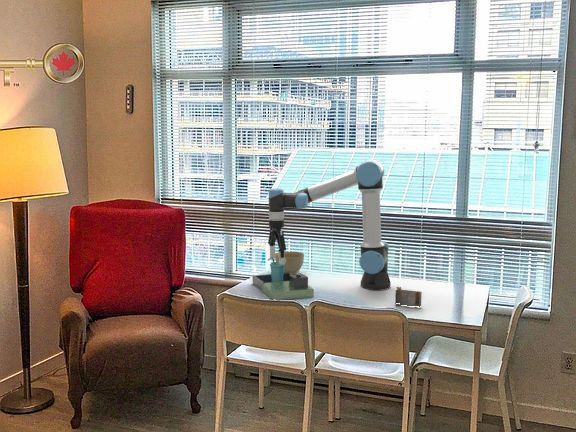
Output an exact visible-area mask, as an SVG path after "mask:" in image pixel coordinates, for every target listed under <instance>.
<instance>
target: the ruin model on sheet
mask: <svg viewBox="0 0 576 432" xmlns="http://www.w3.org/2000/svg"><path fill="white" fill-rule="evenodd" d="M394 295H395V297H394V298H395V300H394V302H395V303H394V305H395V304H396V303H400V305H407V306H419V307H420V306H421V307H422V299H423V298H422V295H423V293H422V291H418V290H409V289H402V286H396V289H395V294H394ZM400 305H399V306H400Z"/></svg>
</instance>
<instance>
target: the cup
mask: <svg viewBox="0 0 576 432" xmlns="http://www.w3.org/2000/svg"><path fill="white" fill-rule="evenodd" d="M284 259H285V264H286V261H287V260H286V257H284ZM267 261H272V262H270V264H269V267H270V274H271V277H272V282H283V273H284V266H285V264H279V260H278V262H276V261H275V259H274V258H273V257H271V258H270V257H269V258H268V259H267Z"/></svg>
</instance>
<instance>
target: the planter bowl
mask: <svg viewBox="0 0 576 432" xmlns="http://www.w3.org/2000/svg"><path fill="white" fill-rule="evenodd" d="M284 257H286V260H287V261H286V264H285V266H284V273H291V274H292V275H295V274H296V272H297V271H300V270H301V269H302V266H303V264H304V258H305V253H304V252H299V251H284ZM274 260H275V262H278V260H279V252H275V259H274Z"/></svg>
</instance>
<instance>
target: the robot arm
mask: <svg viewBox="0 0 576 432" xmlns="http://www.w3.org/2000/svg"><path fill="white" fill-rule="evenodd" d="M384 175H385V168H384V165H383V163H382V162H381V161H380V160H377V159H368V160H364V161H362V162H361V163H360V164H359V165H357V166H355V167H354V169H352V170H350V171H347V172H344V173H343V174H342V173H341V174H339V175H337V176H335V177H334V176H333V177H332V178H329V179H327V180H324V181H321V182H319V183H317V184H314V185H311V186H308V187H306V188H303V189H299V190H298V191H296V192H285V191H284V188H270V189H269V191H268V213H267V216H268V219H269V220H268V228H269V235H268V239H267V240H268V241H267V244H268V246H269V258H271V257H273V258H274V260H276V259H275V254H276V242H277V246H278V250H277V251H278V252H277V253H279V264H285V259H284V252H286V251H287V245H286V241H285V233H284V232H285V231H284V230H282V228H284V227H285V220H284V219H285V209H299V210H301V209H306V208H307V207H308V206H309V204H310V203H312V202H314V201H317V200H320V199H322V198H325V197H328V196H330V195H333V194H337V193H340V192H341V191H344V190H347V189H349V188H352V187H356V186H357V188H358V190H359V192H360V193H361V210H362V211H361V213H362V214H361V215H362V235H363V237H362V240H363V241H362V242H361V244H360V247H359V248H360V257H359V266H360V268H361V270H362V271H363V273H362V276H361V279H360V287H361V288H363V289H367V290H372V291H373V290H374V291H375V290H376V291H380V289H384V290H388V289H390V288H391V287H392V286H391V285H392V284H391V280H390V276H389V275H390V274H389V272H388V271H389V270H388V264H389V261H388V260H389V243H388V242H385V241H382V227H381V225H382V223H381V219H382V217H381V199H380V198H381V197H380V196H381V191H382V190H383V186H384V185H383V177H384ZM390 286H391V287H390ZM389 287H390V288H389ZM387 288H388V289H387Z"/></svg>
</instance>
